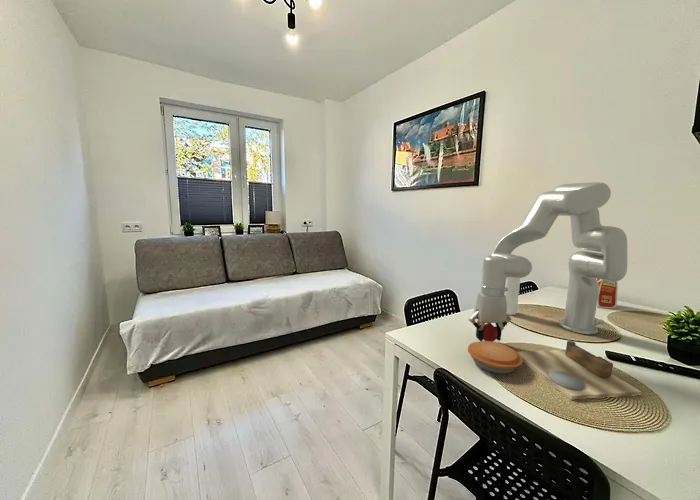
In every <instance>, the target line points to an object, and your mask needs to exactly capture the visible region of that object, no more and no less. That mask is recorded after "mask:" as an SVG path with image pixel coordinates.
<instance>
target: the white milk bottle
mask: <svg viewBox="0 0 700 500" xmlns="http://www.w3.org/2000/svg"><path fill="white" fill-rule="evenodd" d="M520 283H521V278H513V277H507V278H506V285H505V288H508V291H506V292H505V296H506V301H507V314H508V316H515V315H517V313H518V312H517V311H518V303H519V299H518V298H519V294H520Z"/></svg>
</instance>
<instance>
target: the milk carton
mask: <svg viewBox="0 0 700 500" xmlns="http://www.w3.org/2000/svg"><path fill="white" fill-rule="evenodd" d="M596 280H597V282H598V285H599V294H598V300H597V306H596V309H610V310H611V309H614V310H615V309H617V302H618V287H619V286H618V281H607V280H602V279H598V278H596Z"/></svg>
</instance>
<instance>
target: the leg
mask: <svg viewBox="0 0 700 500" xmlns="http://www.w3.org/2000/svg"><path fill="white" fill-rule="evenodd" d="M565 350H566V353H565V355H566V356H568V357H569V358H571V359H573V360H574V361H576V362H577V363H579V364H581V365H582V366H584V367H586V368H587V369H589V370H590V371H592V372H594V373H595V374H597V375H599V376H600V377H602V378H608V377H610V375H611V369H612V365H611V364H609V363H608V362H606V361H604V360H602V359H600V358H598V357H599V356H596V355H595V354H593V353H592V352H590V351H588V350H586V349H584V348H582V347H580V346H579V345H577V343H576V342H575V341H572V340H567V341H566V346H565ZM612 370H613V369H612Z"/></svg>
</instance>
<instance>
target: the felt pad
mask: <svg viewBox="0 0 700 500" xmlns="http://www.w3.org/2000/svg"><path fill="white" fill-rule="evenodd" d="M549 378H550V379H551V380H552V381H553V382H554V383H556V384H558V385H560V386H562V387H565V388H568V389H572V390H582V389H584V388H585V384H584V382H583V381H582V380H581V379H579V378H578V377H576V376H574V375H571V374H569V373H565V372H561V371H553V372H550V373H549Z"/></svg>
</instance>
